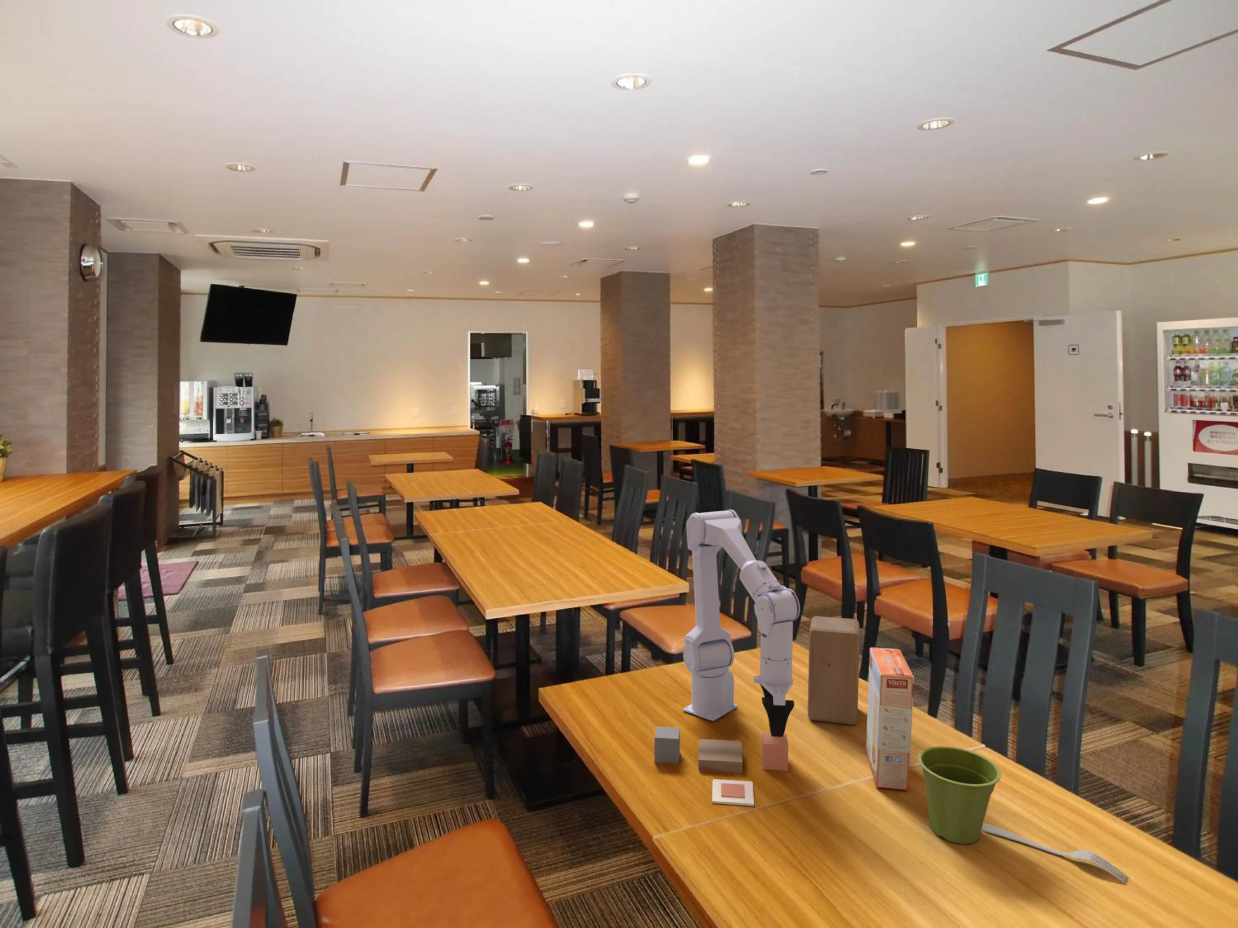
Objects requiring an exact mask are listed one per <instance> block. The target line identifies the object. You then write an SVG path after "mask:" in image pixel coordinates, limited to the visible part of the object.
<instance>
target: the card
mask: <svg viewBox="0 0 1238 928" xmlns="http://www.w3.org/2000/svg"><path fill="white" fill-rule="evenodd" d="M753 783H754V782H753V781H749V780H745V781H744V780H735V779H734V780H733V779H731V780H729V779H716V778H715V779H714V778H713V779H712V793H711V794H712V796H711V797H712V798H711V799H712V800H711V801H712V802H711V803H712V804H719V805H720V804H721V805H735V806H748V807H749V806H750V807H754V806H755V799H754V797H755V796H754V795H755V794H754V784H753Z"/></svg>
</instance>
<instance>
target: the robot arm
mask: <svg viewBox="0 0 1238 928" xmlns="http://www.w3.org/2000/svg"><path fill="white" fill-rule="evenodd" d="M685 525H686V528H685V530H686V542H687V549H688V550H690V551H691V553H692V554H691V555H692V569H693V570H692V572H693V576H692V577H693V589H694V593H693V594H694V607H695V608H694V609H695V624H696V625H695V626H694V627H693V628H692V629H691V630H690V631H689V632H688V633H687V634H686V635H685V636H684V648H683V652H682V657H683V662H684V665H685V668H687V670H688V671H689V672H690V673H691V704H689V705H687V706H685V707H683V711H684V712H685V713H689V714H692V715H694V716H698V717H700V718H703V719H705V720H708V721H712V722H715V721H716V720H718V719H720V718H721V717H722V716H725V715H726V714H727V713H730V712H731V711H733V710H734V709H737V707H738V704H737V703H735V697H734V696H735V678H734V674H733V672H732V670H731V669H730V667H732V665H733V663H734V660H735V649H734V646H733V642H732V637H731V633H729V632H728V630H726V629H724V628H723V627H722V626H721V616H720V615H721V614H720V601H719V599H720V597H719V582H718V580H719V578H718V563H717V561H718V560H717V554H718V553H719V551H720V550H721V549H722V548H723V549H724V551H725V552H726V553H727V554H728V555H729V557H730V559H732V561H733V562H734V563H735V565H736V566H737V567H738V568H739V570H740V572H739V581H741V583H742V584H743V586H744V588H745V589H746V591H747V592H748V594H749V595H750V597H751V598H752V600H753V601H754V603H755V604H753V608H754V614H755V617H756V619H757V628H758V631H759V632H760V660H759V661H760V663H759V665H760V666H759V667H760V671H759V672H760V674H759V675H754V676H753V682H754V683H755V684H759V685H760V687H761V690H762V692H763V696H762V697H761V702H762V703H761V704H762V705H763V707H764V709H765V713H766V714H767V719H768V720H767V721H768V725H769V731H770V732H769V733H771V736H772V737H783V735H784V734H785V731H786V727H787V722H788V721H789V717H790V714H791V712H792V711H793V709H794V708H795V701H794V699H792V700H791V699H786V695H787V694H788V693H789V691H790V689H791V687H793V684H794V680H793V634H794V633H793V632H794V631H793V630H794V629H793V628H794V625H793V624H794V621H796V620H797V619H798V618H799V616H800V614H801V613H800V612H801V605H800V600H799V599H798V596H797V594H796V592H795V591H794V590H793V589H791V588H787V587H786V585H781V583H780V582H779V581H778V580H777V578H776V577H775V575H774V574H773V572H772V571H771V569H770V568H769V566H768V565H767V563H766V562H764V561H763V560H757V559H756V557H755V555H754V553H753V552H752V550H751V549H750V547H749V544H748V543H747V541H746V539H745V538H744V536H743V534H742V532H743V531H742V530H743V528H742V527H743V525H742V520H741V519H740V517H739V515H738V514H737V511H735V510H734V509H727V510H719V511H709V512H708V511H707V512H700V513H699V512H693V513H691V514H690V516H689V518H688V519H687V521H686V524H685Z"/></svg>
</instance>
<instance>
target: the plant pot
mask: <svg viewBox="0 0 1238 928" xmlns="http://www.w3.org/2000/svg"><path fill="white" fill-rule="evenodd" d="M917 760H918V763H919V765H920V766H921V769H922V776H923V778H924V783H925V792H926V793H925V794H926V801H927V811H928V820H929V826H930V828H931V831H933V833H934V834H935V835H936V836H938V837H941V838H943V839H945V840H946V841H948V842H951V843H955V844H959V845H969V844H973V843H975V842H976V841H977V840H978V839H980V835H981V833H982V831H981V829H982V826H983V823H984V822H985V816H986V814H987V810H988V807H989V803H990V799H991V796H992V794H993V792H994V789H995V787H996V784H997V783H999V781H1000V779H1001V777H1002V772H1001V770H1000V767H998V765H997V764H996V763H994V761H992V760H991V759H989V758H988V757H986V756H984V755H982V754H980V753H977V752H975V751H973V750H969V749H966V748H965V749H964V748H961V747H955V746H945V745H943V746H942V745H941V746H940V745H939V746H930V747H927V748H925V749H923V750H921V751H920V753H919V754H918V757H917Z"/></svg>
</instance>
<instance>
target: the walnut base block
mask: <svg viewBox="0 0 1238 928" xmlns="http://www.w3.org/2000/svg"><path fill="white" fill-rule="evenodd" d="M742 743H743V741H741V740H727V739H726V740H725V739H711V738H709V739H707V738H706V739H705V738H699V743H698V744H699V747H698V767H697V768H698V771H705V772H706V771H707V772H722V773H723V772H724V773H725V772H726V773H738V774H739V773H740V774H743V769H744V767H743V763H744V761H743V760H744V759H743V746H742V745H743V744H742Z"/></svg>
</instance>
